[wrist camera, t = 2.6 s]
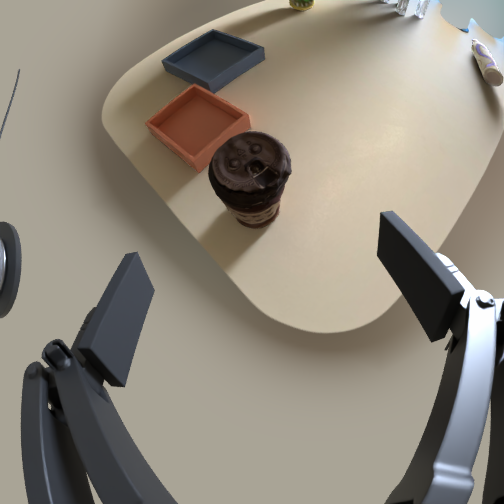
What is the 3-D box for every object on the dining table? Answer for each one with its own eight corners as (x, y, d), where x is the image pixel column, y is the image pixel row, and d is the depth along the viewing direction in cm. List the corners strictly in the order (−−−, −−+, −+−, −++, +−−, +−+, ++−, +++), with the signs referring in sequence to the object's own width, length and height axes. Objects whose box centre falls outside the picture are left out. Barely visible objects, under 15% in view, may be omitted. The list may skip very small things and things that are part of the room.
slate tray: (165, 71, 45) (161, 60, 42) (215, 39, 47) (212, 29, 43) (211, 95, 42) (208, 83, 39) (265, 59, 44) (264, 47, 40)
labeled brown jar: (288, 238, 36) (295, 200, 23) (226, 240, 36) (201, 204, 24) (285, 179, 37) (288, 122, 25) (227, 181, 38) (207, 127, 25)
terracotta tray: (151, 133, 42) (144, 123, 38) (198, 95, 43) (194, 83, 39) (198, 173, 39) (193, 162, 36) (250, 127, 40) (248, 114, 37)
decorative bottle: (498, 91, 39) (507, 78, 33) (479, 78, 40) (488, 64, 34) (480, 50, 43) (486, 39, 37) (463, 40, 45) (469, 28, 38)
